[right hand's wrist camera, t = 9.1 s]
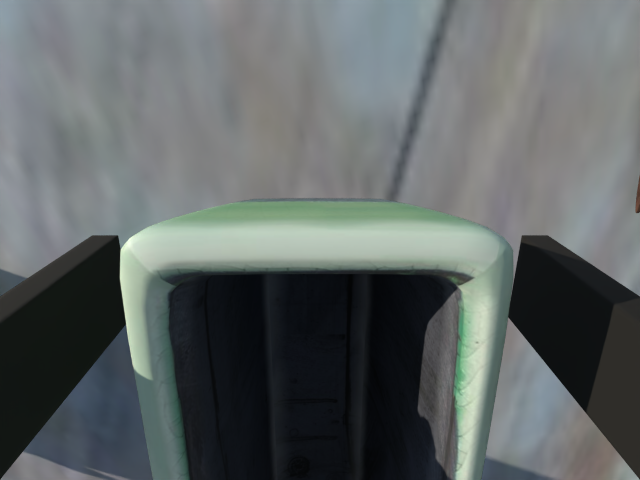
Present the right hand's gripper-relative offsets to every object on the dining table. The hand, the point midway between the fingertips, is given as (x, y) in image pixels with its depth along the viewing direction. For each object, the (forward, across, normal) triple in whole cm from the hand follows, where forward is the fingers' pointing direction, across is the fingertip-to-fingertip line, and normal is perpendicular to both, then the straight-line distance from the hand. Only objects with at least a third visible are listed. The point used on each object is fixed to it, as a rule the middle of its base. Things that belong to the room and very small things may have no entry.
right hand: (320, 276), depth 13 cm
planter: (+2, 0, -11) cm, 11 cm away
